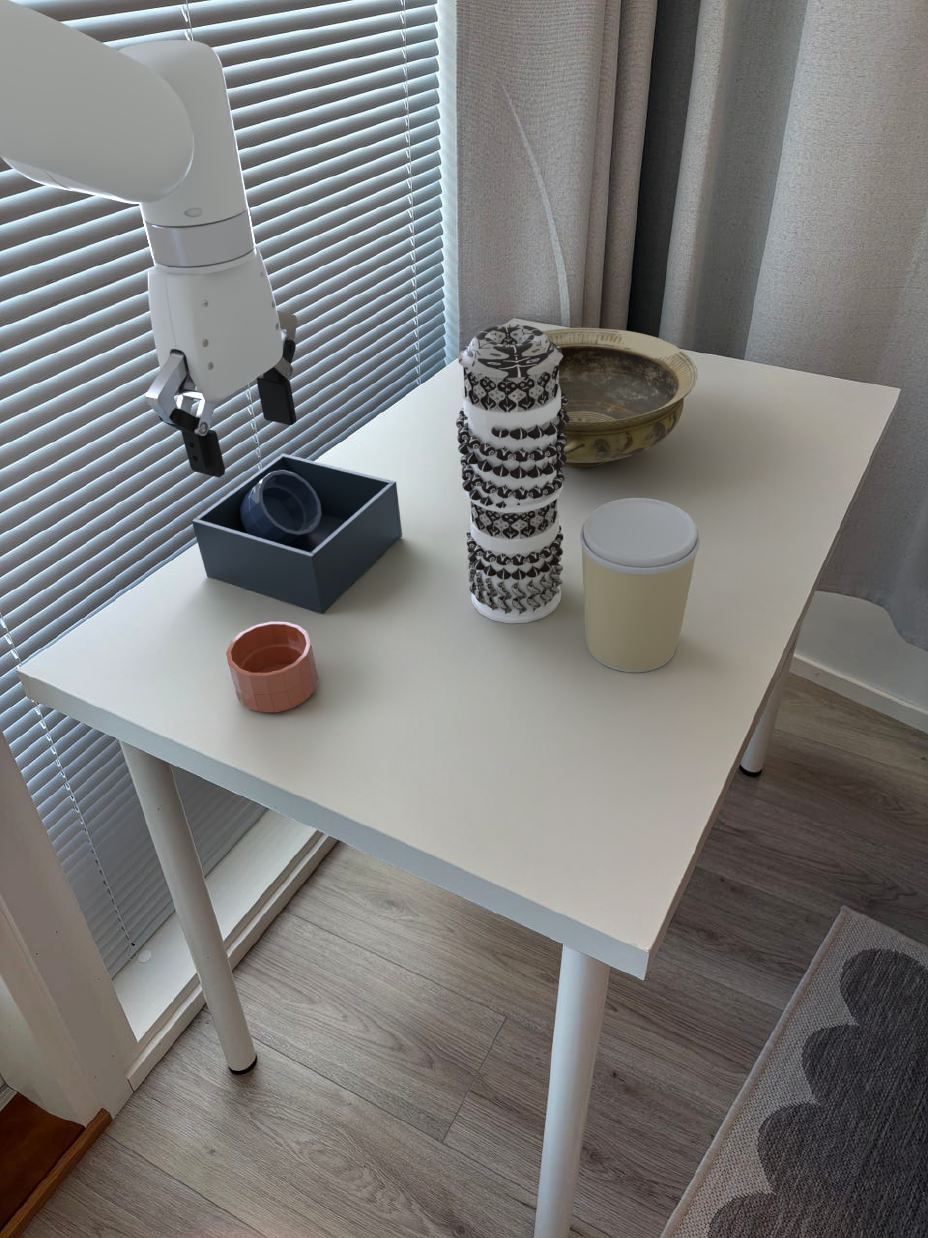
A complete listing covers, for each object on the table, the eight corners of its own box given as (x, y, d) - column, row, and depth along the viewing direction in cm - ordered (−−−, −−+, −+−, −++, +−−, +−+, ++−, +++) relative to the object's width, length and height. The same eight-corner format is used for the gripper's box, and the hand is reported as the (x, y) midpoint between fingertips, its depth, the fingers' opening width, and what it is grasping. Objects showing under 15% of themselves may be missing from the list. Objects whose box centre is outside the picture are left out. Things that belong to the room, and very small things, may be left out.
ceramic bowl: (653, 538, 94) (660, 449, 88) (433, 499, 102) (426, 415, 96) (712, 406, 115) (722, 326, 109) (527, 382, 123) (526, 306, 117)
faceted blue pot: (239, 546, 92) (260, 527, 89) (236, 484, 95) (257, 463, 91) (301, 557, 96) (323, 539, 93) (296, 497, 99) (318, 478, 96)
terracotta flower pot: (242, 725, 77) (231, 684, 74) (233, 672, 82) (222, 632, 79) (325, 705, 78) (317, 664, 75) (311, 654, 83) (303, 614, 80)
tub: (322, 614, 88) (311, 556, 83) (206, 576, 93) (191, 520, 89) (402, 536, 97) (396, 481, 93) (292, 506, 103) (282, 453, 98)
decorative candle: (583, 582, 89) (591, 323, 73) (535, 638, 83) (533, 370, 68) (499, 556, 93) (490, 305, 78) (448, 607, 87) (427, 347, 72)
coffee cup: (705, 633, 83) (721, 516, 75) (654, 695, 77) (666, 575, 69) (611, 597, 87) (617, 484, 80) (556, 653, 82) (557, 537, 74)
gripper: (236, 201, 77) (272, 396, 88) (77, 269, 65) (141, 485, 76) (311, 210, 74) (339, 411, 85) (159, 282, 62) (214, 505, 73)
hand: (246, 446), depth 80 cm, fingers open, 9 cm apart
